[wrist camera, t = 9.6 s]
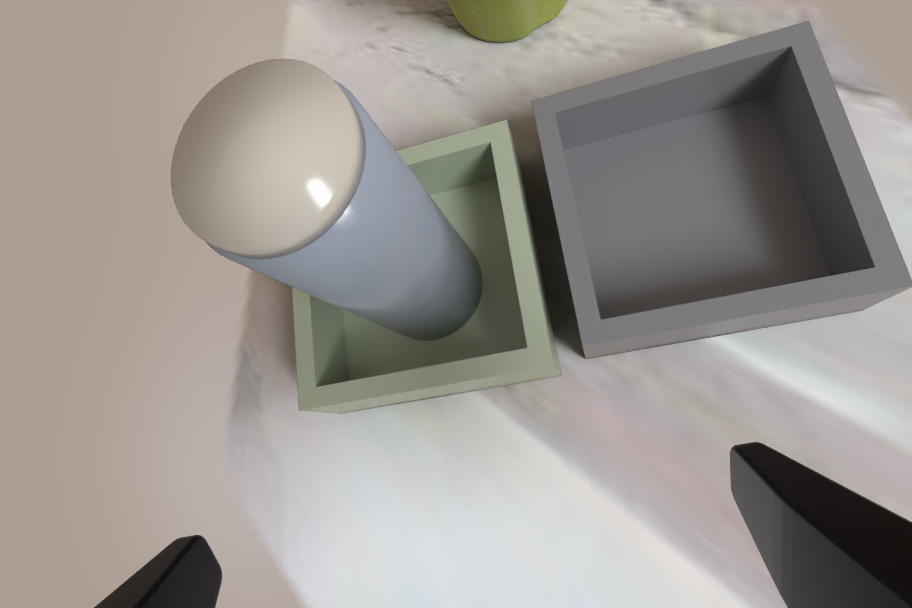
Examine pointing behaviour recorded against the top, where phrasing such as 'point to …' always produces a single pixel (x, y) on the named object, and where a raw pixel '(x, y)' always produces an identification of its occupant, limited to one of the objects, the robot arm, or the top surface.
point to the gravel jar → (320, 201)
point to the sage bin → (487, 331)
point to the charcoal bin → (714, 197)
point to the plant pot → (504, 17)
